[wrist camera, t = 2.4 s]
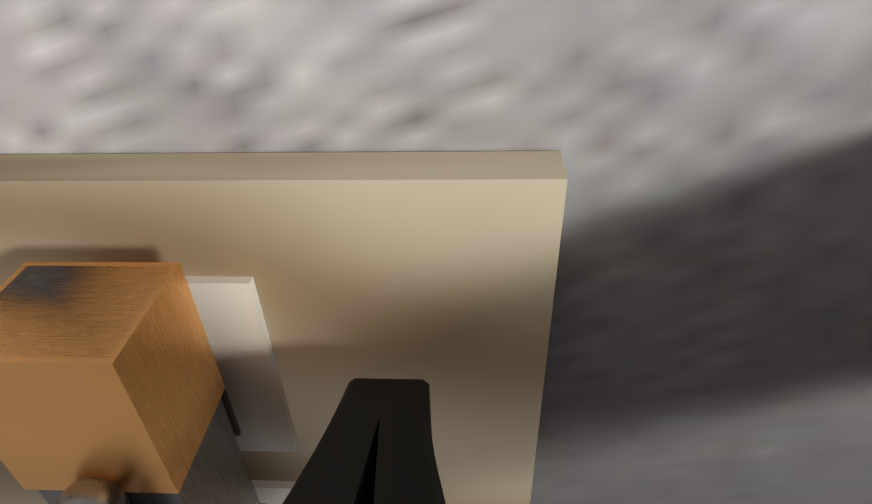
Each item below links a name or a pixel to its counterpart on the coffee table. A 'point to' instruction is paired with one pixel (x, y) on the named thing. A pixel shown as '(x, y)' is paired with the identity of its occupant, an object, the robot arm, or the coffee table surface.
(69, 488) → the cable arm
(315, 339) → the label board
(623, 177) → the coffee table surface
